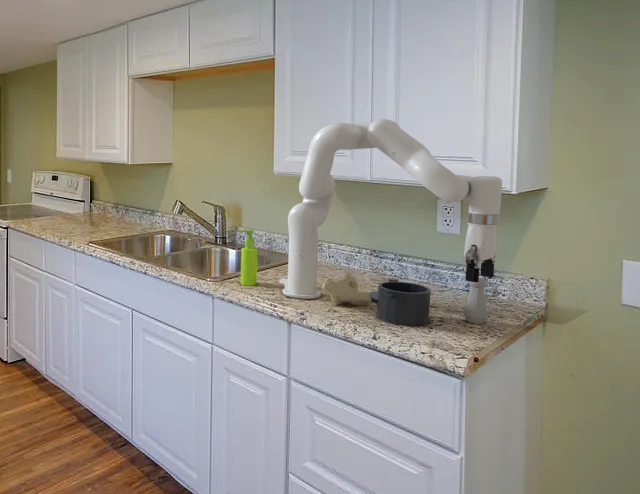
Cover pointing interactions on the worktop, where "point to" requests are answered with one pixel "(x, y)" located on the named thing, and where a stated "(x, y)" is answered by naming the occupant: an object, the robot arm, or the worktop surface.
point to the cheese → (345, 291)
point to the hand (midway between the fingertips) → (479, 279)
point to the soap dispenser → (249, 261)
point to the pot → (403, 303)
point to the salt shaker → (476, 303)
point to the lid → (375, 294)
